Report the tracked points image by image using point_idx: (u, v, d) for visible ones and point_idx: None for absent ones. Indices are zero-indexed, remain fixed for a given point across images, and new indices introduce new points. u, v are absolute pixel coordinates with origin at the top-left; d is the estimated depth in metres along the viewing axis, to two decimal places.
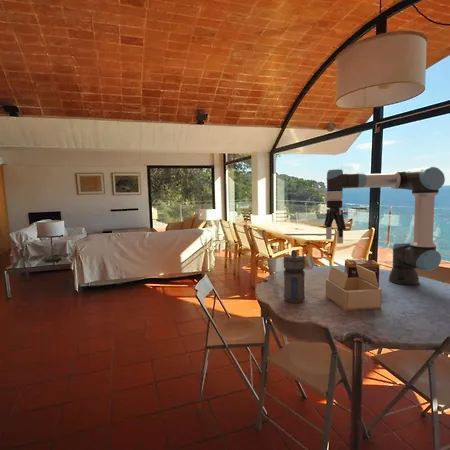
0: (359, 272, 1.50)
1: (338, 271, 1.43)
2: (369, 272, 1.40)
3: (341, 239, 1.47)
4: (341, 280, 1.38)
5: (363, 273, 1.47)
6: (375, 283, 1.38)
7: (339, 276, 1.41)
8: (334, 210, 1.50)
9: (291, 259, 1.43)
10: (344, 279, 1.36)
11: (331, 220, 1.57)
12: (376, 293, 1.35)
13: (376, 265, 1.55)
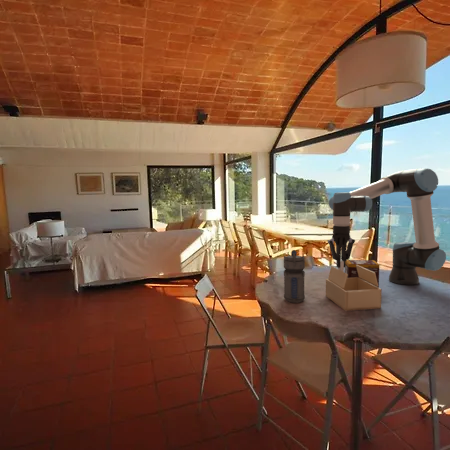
0: (359, 272, 1.50)
1: (338, 271, 1.43)
2: (369, 272, 1.40)
3: (340, 270, 1.42)
4: (341, 280, 1.38)
5: (363, 273, 1.47)
6: (375, 283, 1.38)
7: (339, 276, 1.41)
8: None
9: (291, 259, 1.43)
10: (344, 279, 1.36)
11: (342, 249, 1.42)
12: (376, 293, 1.35)
13: (376, 265, 1.55)
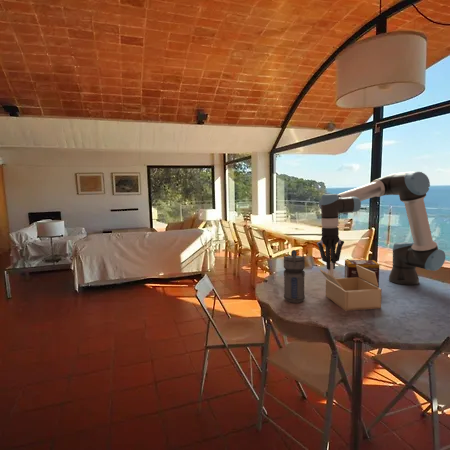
0: (359, 272, 1.50)
1: (327, 275, 1.42)
2: (369, 272, 1.40)
3: (330, 272, 1.42)
4: (335, 282, 1.38)
5: (363, 273, 1.47)
6: (375, 283, 1.38)
7: (331, 279, 1.41)
8: None
9: (291, 259, 1.43)
10: (336, 282, 1.36)
11: (332, 251, 1.41)
12: (376, 293, 1.35)
13: (376, 265, 1.55)
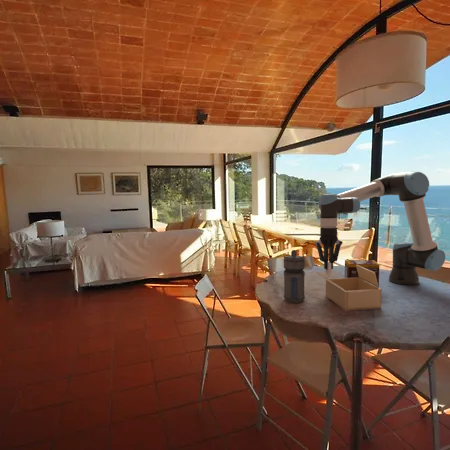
0: (359, 272, 1.50)
1: (325, 277, 1.42)
2: (369, 272, 1.40)
3: (327, 272, 1.42)
4: None
5: (363, 273, 1.47)
6: (375, 283, 1.38)
7: None
8: None
9: (291, 259, 1.43)
10: (335, 284, 1.36)
11: (330, 251, 1.41)
12: (376, 293, 1.35)
13: (376, 265, 1.55)
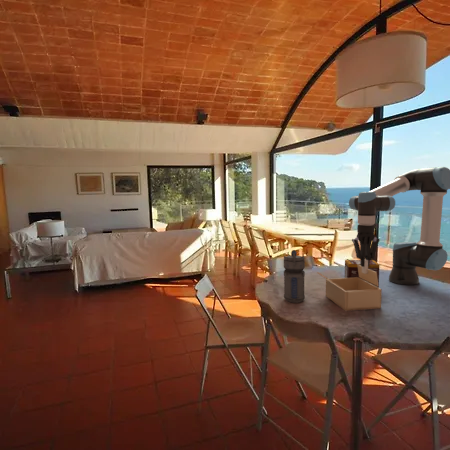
0: (360, 272, 1.50)
1: (325, 277, 1.42)
2: (370, 272, 1.41)
3: (364, 269, 1.44)
4: None
5: None
6: (376, 283, 1.38)
7: None
8: None
9: (291, 259, 1.43)
10: (335, 284, 1.36)
11: (367, 248, 1.43)
12: (376, 293, 1.35)
13: (376, 265, 1.55)
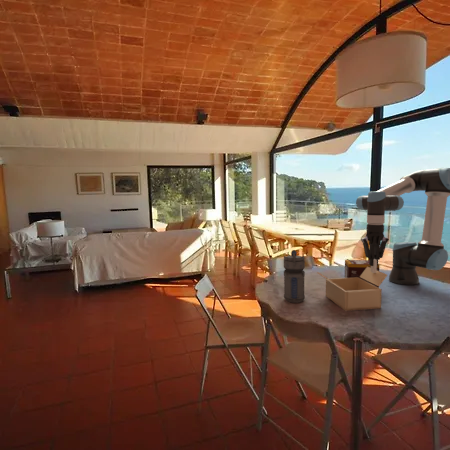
0: (365, 272, 1.51)
1: (325, 277, 1.42)
2: (380, 273, 1.41)
3: (373, 268, 1.44)
4: None
5: (370, 274, 1.47)
6: (378, 283, 1.38)
7: None
8: None
9: (291, 259, 1.43)
10: (335, 284, 1.36)
11: (376, 247, 1.43)
12: (376, 293, 1.35)
13: None
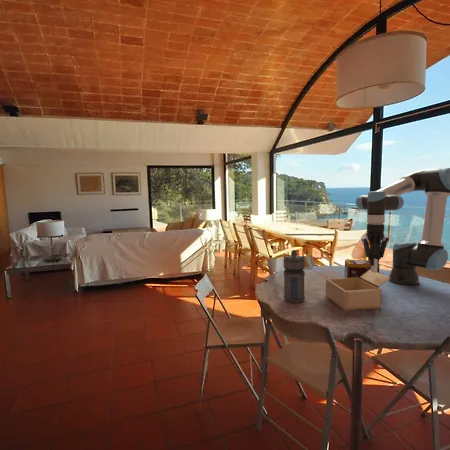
0: (366, 274, 1.51)
1: (325, 277, 1.42)
2: (383, 276, 1.41)
3: (373, 268, 1.44)
4: None
5: (372, 275, 1.47)
6: (379, 283, 1.38)
7: None
8: None
9: (291, 259, 1.43)
10: (335, 284, 1.36)
11: (376, 247, 1.43)
12: (376, 293, 1.35)
13: None
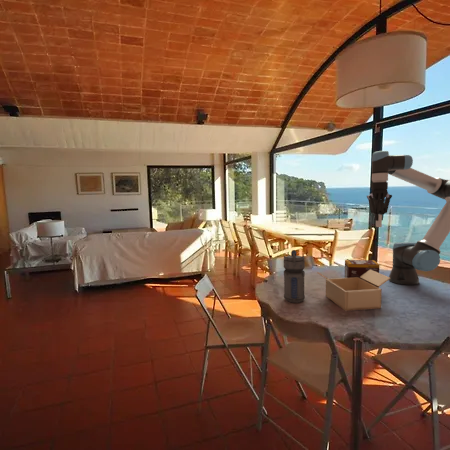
0: (366, 274, 1.51)
1: (325, 277, 1.42)
2: (383, 276, 1.41)
3: (378, 223, 1.57)
4: None
5: (372, 275, 1.47)
6: (379, 283, 1.38)
7: None
8: None
9: (291, 259, 1.43)
10: (335, 284, 1.36)
11: (380, 204, 1.56)
12: (376, 293, 1.35)
13: (376, 265, 1.55)
